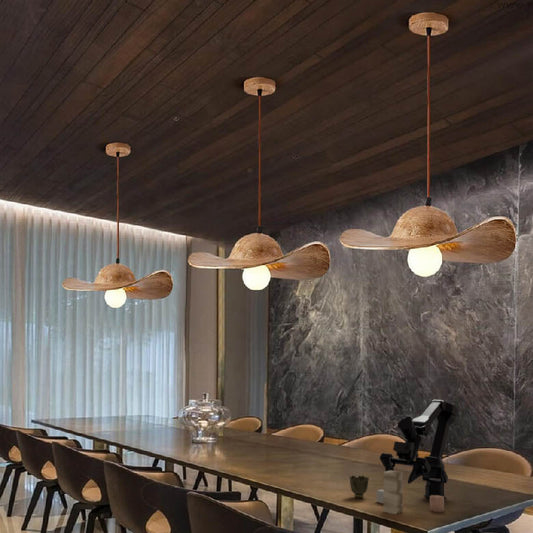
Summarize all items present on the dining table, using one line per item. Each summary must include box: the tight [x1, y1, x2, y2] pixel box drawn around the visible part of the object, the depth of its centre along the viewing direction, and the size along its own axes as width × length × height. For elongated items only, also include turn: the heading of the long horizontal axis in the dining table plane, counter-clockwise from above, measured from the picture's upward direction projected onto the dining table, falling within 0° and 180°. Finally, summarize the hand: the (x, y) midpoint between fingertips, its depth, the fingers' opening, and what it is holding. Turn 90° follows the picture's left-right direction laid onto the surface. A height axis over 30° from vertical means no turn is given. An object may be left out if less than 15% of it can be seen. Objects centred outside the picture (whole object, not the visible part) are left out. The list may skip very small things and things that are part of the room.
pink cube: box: [429, 495, 445, 513], centre depth 260 cm, size 5×5×5 cm
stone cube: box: [376, 489, 383, 504], centre depth 272 cm, size 4×4×4 cm
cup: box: [349, 475, 369, 499], centre depth 279 cm, size 8×7×8 cm
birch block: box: [382, 470, 404, 515], centre depth 257 cm, size 5×5×14 cm
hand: (397, 481), depth 259 cm, fingers open, 9 cm apart
